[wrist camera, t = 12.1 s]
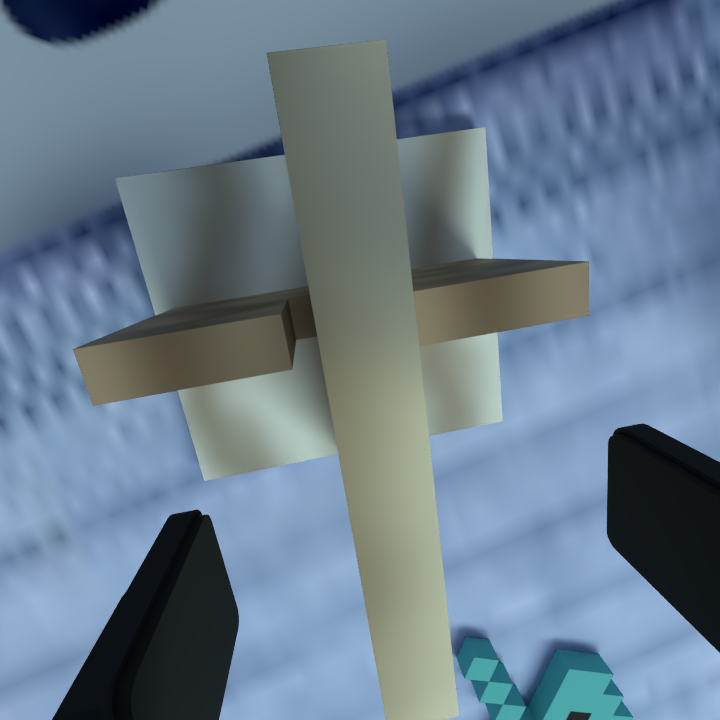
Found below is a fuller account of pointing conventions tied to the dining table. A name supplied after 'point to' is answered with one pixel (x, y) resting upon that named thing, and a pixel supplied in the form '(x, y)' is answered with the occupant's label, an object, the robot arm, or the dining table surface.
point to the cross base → (268, 255)
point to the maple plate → (370, 355)
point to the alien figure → (544, 686)
